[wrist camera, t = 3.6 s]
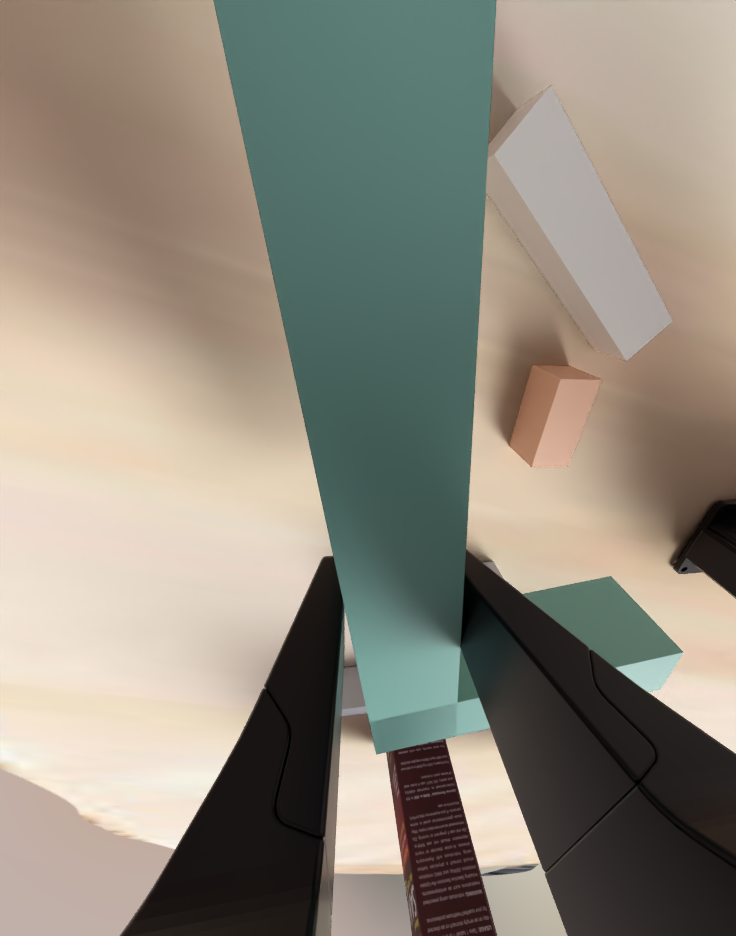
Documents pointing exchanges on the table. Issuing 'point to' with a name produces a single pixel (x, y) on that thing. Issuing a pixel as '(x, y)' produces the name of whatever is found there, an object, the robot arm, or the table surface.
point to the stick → (572, 228)
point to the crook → (393, 326)
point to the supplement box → (436, 845)
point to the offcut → (553, 414)
